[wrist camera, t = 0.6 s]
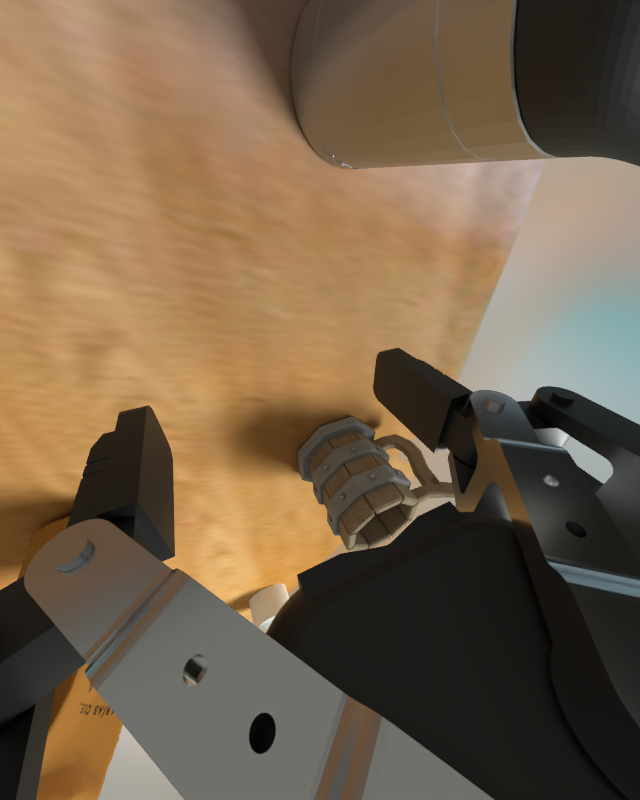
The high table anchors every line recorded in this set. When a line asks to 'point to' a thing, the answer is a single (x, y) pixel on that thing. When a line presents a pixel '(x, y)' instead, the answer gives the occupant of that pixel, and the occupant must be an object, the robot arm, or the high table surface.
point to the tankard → (365, 481)
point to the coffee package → (74, 723)
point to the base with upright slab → (267, 605)
